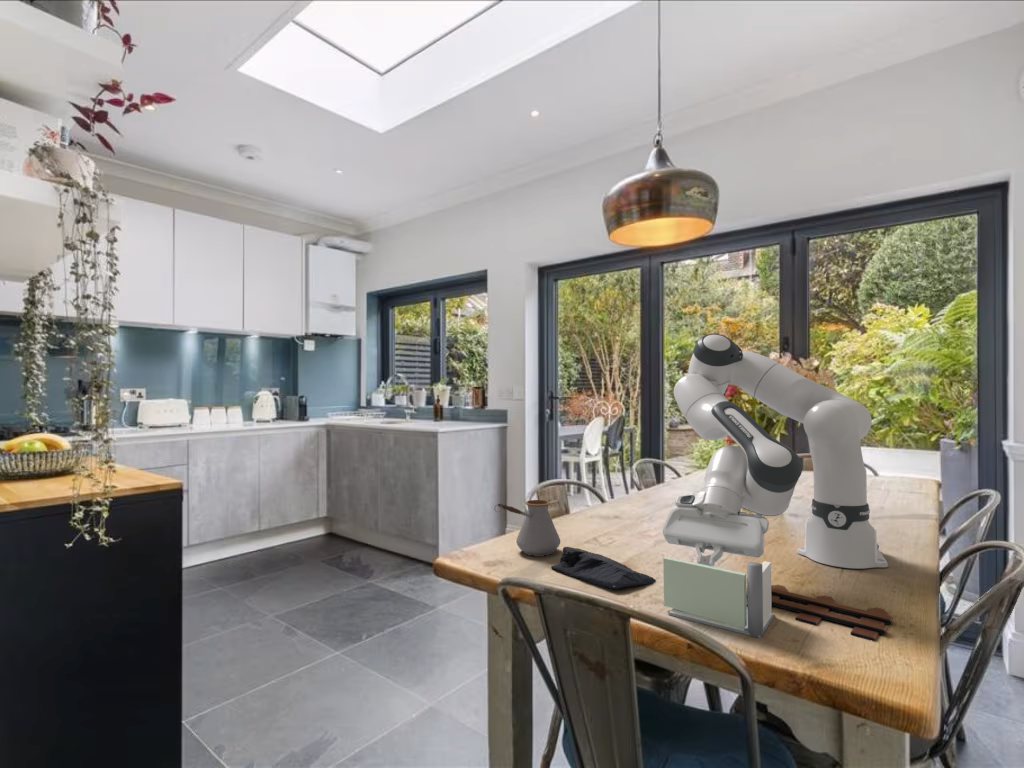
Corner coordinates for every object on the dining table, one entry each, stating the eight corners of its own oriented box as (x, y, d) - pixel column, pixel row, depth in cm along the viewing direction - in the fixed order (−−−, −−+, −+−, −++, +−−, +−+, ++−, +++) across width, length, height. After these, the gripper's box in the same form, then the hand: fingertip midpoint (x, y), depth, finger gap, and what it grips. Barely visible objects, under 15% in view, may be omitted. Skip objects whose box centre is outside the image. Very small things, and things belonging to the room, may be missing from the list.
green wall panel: (746, 625, 95) (746, 573, 95) (744, 627, 94) (744, 575, 94) (666, 603, 104) (666, 556, 104) (663, 605, 103) (663, 558, 103)
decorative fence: (882, 647, 89) (898, 618, 100) (882, 636, 89) (898, 609, 100) (740, 608, 105) (767, 587, 116) (740, 599, 105) (767, 579, 116)
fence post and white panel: (761, 613, 101) (760, 549, 101) (775, 616, 100) (774, 551, 100) (746, 635, 93) (745, 564, 93) (761, 638, 91) (760, 567, 91)
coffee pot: (535, 542, 149) (534, 488, 149) (569, 551, 141) (568, 493, 141) (480, 562, 133) (479, 500, 133) (515, 572, 125) (515, 507, 125)
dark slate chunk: (608, 599, 110) (608, 575, 110) (545, 568, 129) (545, 548, 129) (661, 584, 118) (661, 562, 118) (595, 557, 137) (595, 538, 137)
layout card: (688, 596, 110) (688, 593, 110) (774, 615, 100) (774, 613, 100) (668, 614, 101) (668, 612, 101) (760, 638, 92) (760, 635, 92)
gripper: (772, 524, 114) (762, 584, 106) (676, 512, 126) (661, 565, 118) (767, 506, 110) (756, 567, 102) (669, 496, 122) (653, 549, 114)
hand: (704, 566), depth 110 cm, fingers closed
